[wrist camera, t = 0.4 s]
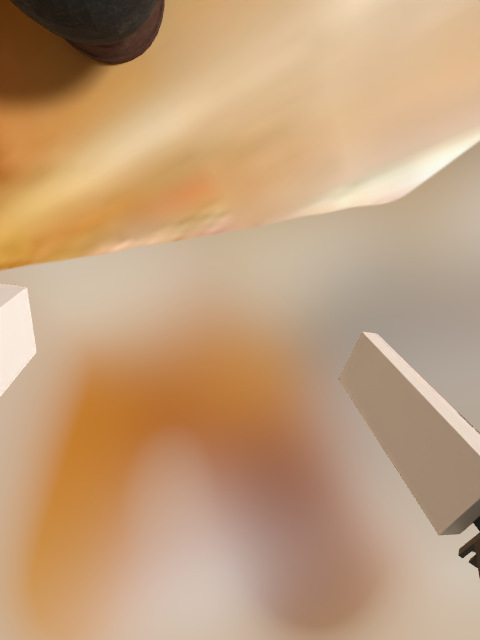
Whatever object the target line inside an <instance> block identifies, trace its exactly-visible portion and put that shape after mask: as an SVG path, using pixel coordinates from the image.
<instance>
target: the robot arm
mask: <svg viewBox="0 0 480 640" xmlns="http://www.w3.org/2000/svg"><path fill="white" fill-rule="evenodd" d="M35 354H36V345H35V339H34V331H33V325H32V318H31V311H30V304H29V298H28V291H27V287H22V286H15V285H8V284H0V396H1V395H2V394H3V393H4V391H5V390H6V389H7V388H8V387H9V385H10V384H11V383H12V382H13V381H14V379H15V378H16V377H17V376H18V374H19V373H20V372H21V371H22V370H23V368H24V367H25V366H26V365H27V363H28V362H29V361H30V360H31V358H32V357H33V356H34V355H35ZM339 380H340V382H341V384H342V385H343V387H344V388H345V390H346V391H347V393H348V394H349V396H350V398H351V399H352V400H353V402H354V404H355V405H356V407H357V408H358V410H359V412H360V413H361V415H362V416H363V418H364V419H365V421H366V422H367V424H368V426H369V427H370V429H371V430H372V432H373V433H374V435H375V436H376V438H377V440H378V441H379V443H380V444H381V446H382V447H383V449H384V450H385V452H386V454H387V455H388V457H389V458H390V460H391V461H392V463H393V465H394V466H395V468H396V469H397V471H398V472H399V474H400V476H401V477H402V479H403V480H404V481H405V483H406V485H407V486H408V488H409V490H410V491H411V492H412V494H413V496H414V497H415V499H416V500H417V502H418V504H419V505H420V507H421V508H422V509H423V511H424V513H425V514H426V516H427V518H428V519H429V521H430V522H431V524H432V525H433V527H434V528H435V530H436V531H437V533H438V535H450V534H460V533H461V532H463V531H464V530H465V529H466V528H467V527H468V526H470V525H471V524H472V523H474V524H475V526H476V527H477V528H478V530H479V531H480V433H479V432H478V431H477V430H475V429H474V428H473V426H472V425H471V424H470V423H469V422H468V421H467V420H466V419H465V418H464V417H463V416H462V415H460V414H459V413H458V412H456V411H455V410H454V409H453V408H452V407H451V406H450V405H449V404H448V403H447V402H446V401H445V400H444V399H443V398H442V397H441V396H440V395H439V394H438V393H437V392H436V391H435V390H434V389H433V388H432V387H431V386H430V385H429V384H428V383H427V382H426V381H425V380H424V379H423V378H422V377H421V376H420V375H419V374H417V373H416V372H415V371H414V370H413V369H412V368H411V367H410V366H409V365H408V364H407V363H406V362H405V361H404V360H403V359H402V358H401V357H400V356H399V355H398V354H397V353H396V352H395V351H394V350H393V349H392V348H391V347H390V346H389V345H388V344H387V343H386V342H385V341H384V340H383V339H382V338H381V337H380V336H379V335H378V334H375V333H368V332H362V333H361V335H360V337H359V339H358V341H357V343H356V345H355V347H354V349H353V351H352V353H351V355H350V357H349V359H348V361H347V363H346V365H345V367H344V369H343V371H342V373H341V375H340V376H339ZM471 551H473V552H476V555H475V556H474V557H472V558H471V559H470V560H469V563H471V564H472V565H474V566H475V567H477V568H478V570H479V577H480V533H479V534H477V535H476V536H475V537H474V538H472V539H471V540H470V541H469V542H467V543H466V544H465V545H464V546H463V547H461V548H460V549H459V556H460V557H461V558H464V557H465V556H466V555H467V554H469V553H470V552H471Z"/></svg>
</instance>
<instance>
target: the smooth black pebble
mask: <svg viewBox="0 0 480 640" xmlns="http://www.w3.org/2000/svg"><path fill="white" fill-rule="evenodd" d="M10 1H11V2H13V3H14V4H15V5H16V6H17V7H18V8H19V9H20V10H21V11H22V12H24V13H25V14H26V15H28V16H29V17H30V18H32V19H33V20H35V21H36V22H37V23H39V24H40V25H42V26H43V27H45V28H46V29H48V30H49V31H51V32H52V33H55V34H57V35H59V36H61V37H63V38H64V39H65V40H66V41H67V42H69V43H70V44H71V45H72V46H73V47H74V48H76V49H77V50H79V51H80V52H81V53H83V54H84V55H86V56H88V57H91V58H93V59H95V60H97V61H101V62H106V63H124V62H127V61H131V60H133V59H135V58H137V57H138V56H140V55H142V54H143V53H144V52H145V51H146V50H147V49H148V48H149V47H150V46H151V44H152V42H153V41H154V39H155V37H156V36H157V34H158V31H159V28H160V25H161V22H162V18H163V12H164V0H10Z"/></svg>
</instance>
